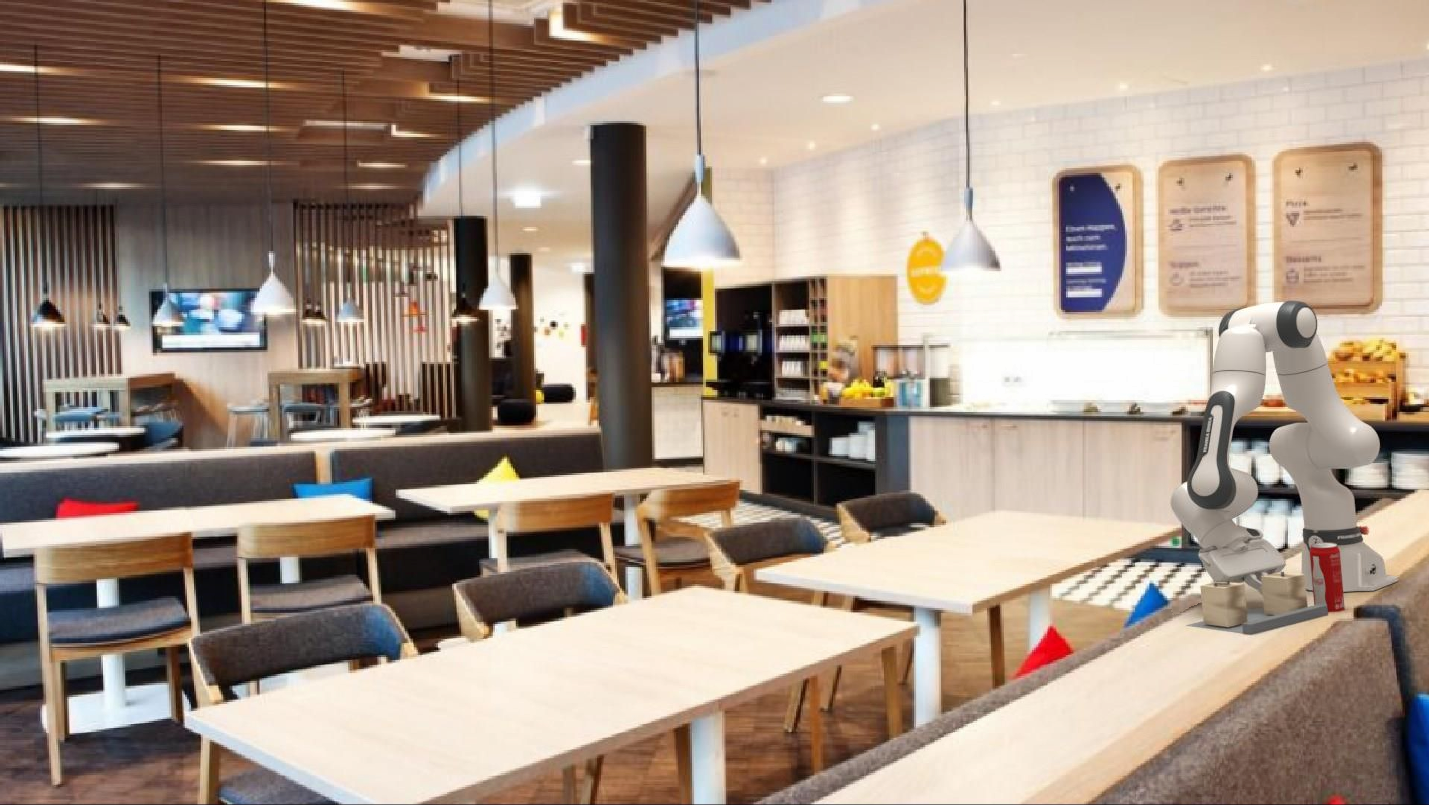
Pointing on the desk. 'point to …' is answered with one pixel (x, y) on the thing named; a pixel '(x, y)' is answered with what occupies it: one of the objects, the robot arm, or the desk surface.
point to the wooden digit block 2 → (1224, 603)
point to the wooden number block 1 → (1283, 592)
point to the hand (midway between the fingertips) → (1269, 592)
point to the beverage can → (1327, 576)
